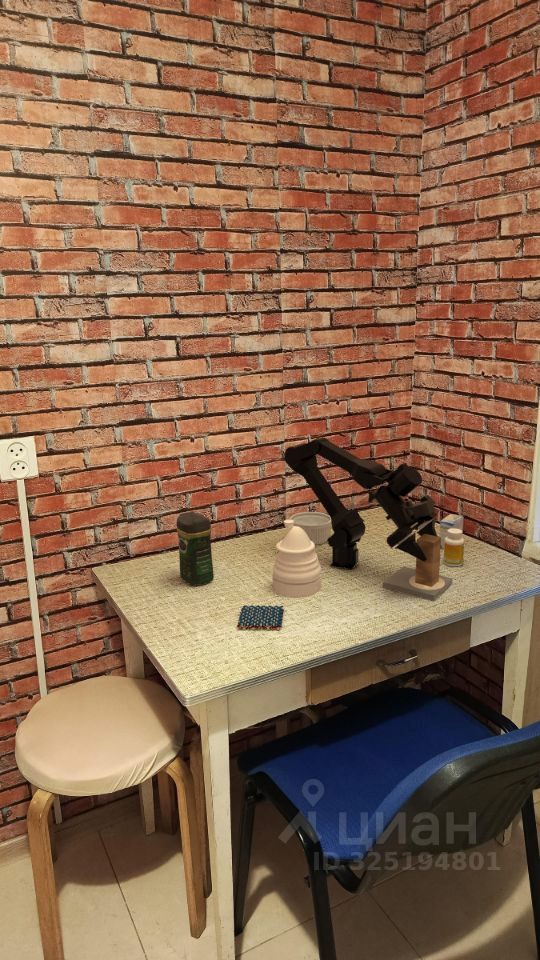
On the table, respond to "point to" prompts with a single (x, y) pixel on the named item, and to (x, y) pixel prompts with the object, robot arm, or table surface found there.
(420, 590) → the slate board
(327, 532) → the ramekin
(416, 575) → the walnut block
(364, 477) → the robot arm
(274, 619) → the woven mat
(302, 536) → the honey pot
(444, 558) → the supplement bottle
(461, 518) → the medicine box
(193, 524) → the coffee jar
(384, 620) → the table surface
